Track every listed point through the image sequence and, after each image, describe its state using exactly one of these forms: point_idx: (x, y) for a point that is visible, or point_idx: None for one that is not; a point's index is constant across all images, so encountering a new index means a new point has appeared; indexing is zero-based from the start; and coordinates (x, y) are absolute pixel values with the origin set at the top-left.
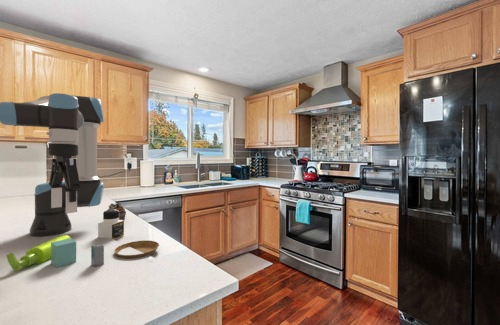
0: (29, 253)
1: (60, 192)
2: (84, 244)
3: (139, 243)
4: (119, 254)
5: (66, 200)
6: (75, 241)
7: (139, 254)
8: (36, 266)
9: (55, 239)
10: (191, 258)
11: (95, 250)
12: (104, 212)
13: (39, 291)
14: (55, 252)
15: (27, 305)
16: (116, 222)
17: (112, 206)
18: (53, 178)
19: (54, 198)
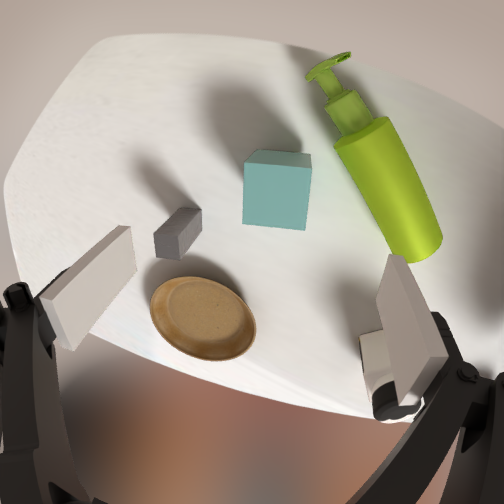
0: (359, 116)
1: (395, 367)
2: None
3: (241, 345)
4: (185, 277)
5: (77, 262)
6: (246, 223)
7: (151, 297)
8: None
9: (404, 217)
10: (107, 332)
11: (157, 231)
12: None
13: (161, 88)
14: (259, 158)
15: (119, 65)
16: (367, 385)
17: None
18: (421, 457)
19: (400, 305)
